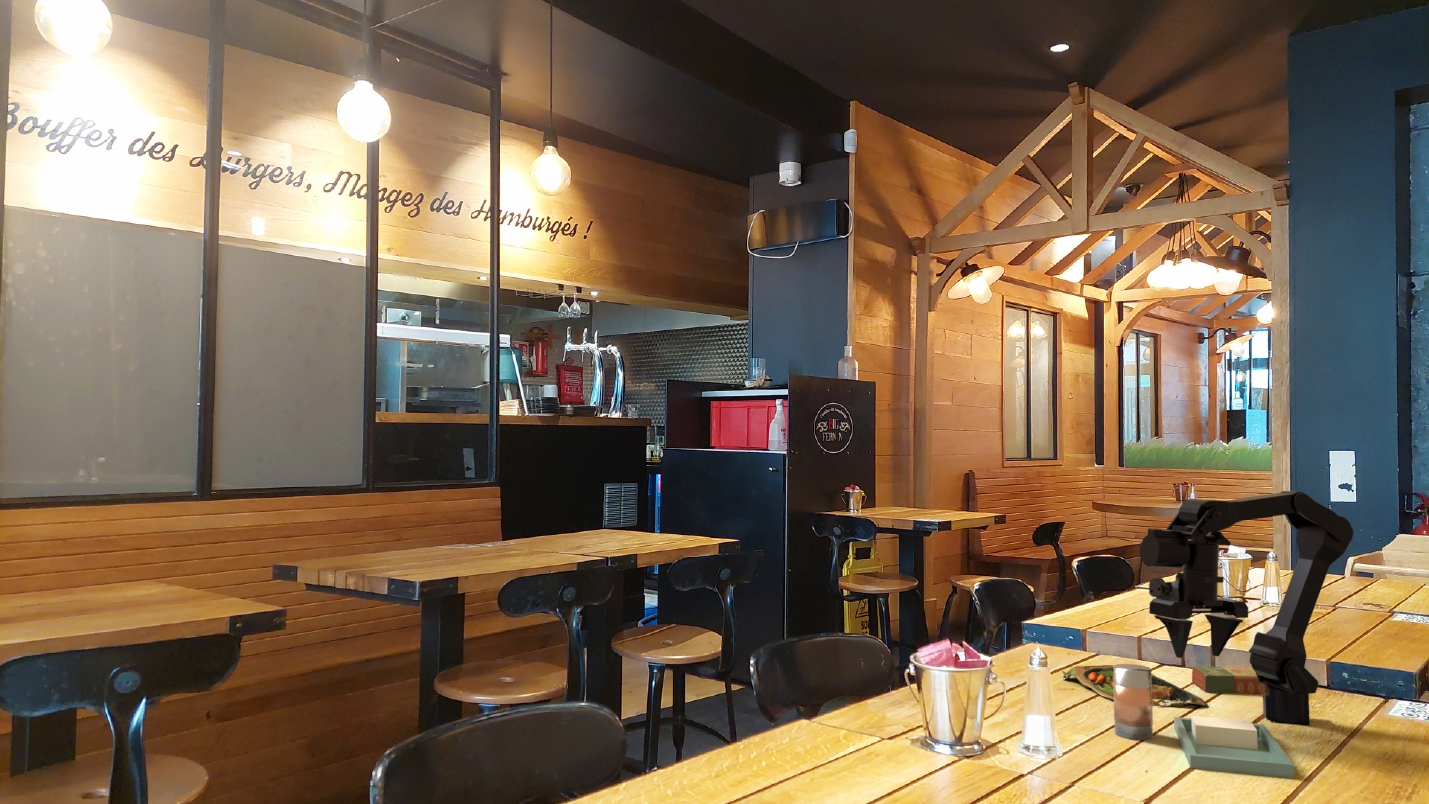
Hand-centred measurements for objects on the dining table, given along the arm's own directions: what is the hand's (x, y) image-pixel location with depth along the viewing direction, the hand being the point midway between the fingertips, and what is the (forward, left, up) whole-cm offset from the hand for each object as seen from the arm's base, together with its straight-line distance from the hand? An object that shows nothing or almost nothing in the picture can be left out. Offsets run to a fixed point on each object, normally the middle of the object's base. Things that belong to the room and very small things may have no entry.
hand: (1197, 656), depth 171 cm
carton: (-12, -32, -13) cm, 37 cm away
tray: (-3, +15, -13) cm, 20 cm away
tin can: (+11, +11, -13) cm, 20 cm away
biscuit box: (-3, +10, -12) cm, 15 cm away
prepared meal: (+9, -24, -13) cm, 29 cm away
